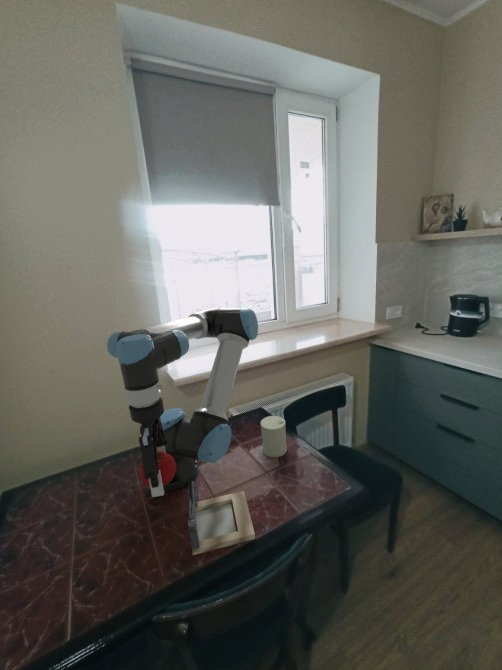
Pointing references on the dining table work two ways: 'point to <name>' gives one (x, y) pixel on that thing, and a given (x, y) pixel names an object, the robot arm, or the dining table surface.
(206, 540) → the beige flat square frame
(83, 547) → the dining table surface
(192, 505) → the grey curved bar
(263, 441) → the can
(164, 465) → the tomato
